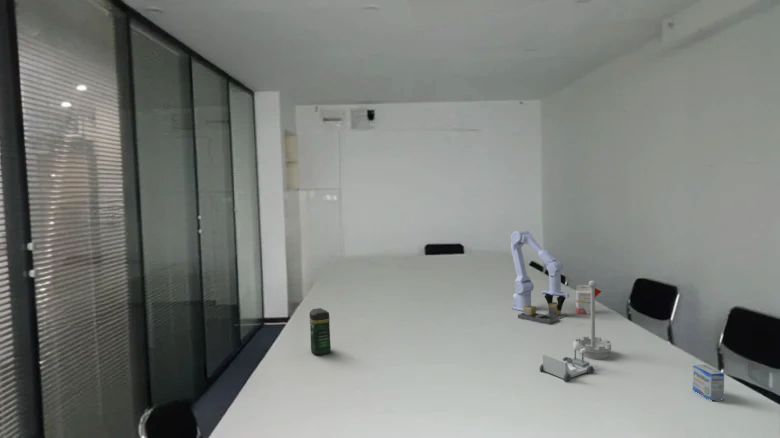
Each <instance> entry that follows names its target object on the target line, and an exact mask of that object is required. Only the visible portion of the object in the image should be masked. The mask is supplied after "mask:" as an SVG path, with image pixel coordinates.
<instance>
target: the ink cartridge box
mask: <svg viewBox="0 0 780 438" xmlns="http://www.w3.org/2000/svg"><path fill="white" fill-rule="evenodd" d="M575 288H576V289H575V312H576V313H577V314H578V315H591V287H590V286H589V284H577V285H576V286H575Z"/></svg>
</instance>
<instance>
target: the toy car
mask: <svg viewBox="0 0 780 438" xmlns="http://www.w3.org/2000/svg"><path fill="white" fill-rule="evenodd" d="M572 347H573V350H574V357H573V358H571V357H567V356H564V357H563V358H562V359H560V358H557V357H554V356H553V355H552V356H551V355H550V354H549V355H548V354H547V353H544V354H542V364H540V365H539V371H540V372H541V373H544V372H545V373H549V374H550V375H554V376H556V377H559V378H561V379H562V380H563V381H564V382H565V383H567V382H570V381H572V380H571V379H572V378H574V377H578V376H579V375H583V374H585V373H587V375H590V373H591V374H593V373H594V371H595V369H594V366H593V365H590V362H589V361H586V360H584V357H583V353H584V352H586V349H584V348H583V346H582V345H581V344H580V341H579V343H578V342H576V340H573V343H572ZM582 348H583V349H582ZM579 350H580V352H581V353H582V356H581V357H582V358H581V359H580V358H577V357H576V356H577V352H579ZM576 351H577V352H576ZM543 371H544V372H543Z"/></svg>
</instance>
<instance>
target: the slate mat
mask: <svg viewBox="0 0 780 438" xmlns="http://www.w3.org/2000/svg"><path fill="white" fill-rule="evenodd" d="M544 315H549V312H548V313H545V314H544ZM550 316H553V315H550ZM567 316H568V314H566V313H561V315H559V316H555V317H559V320H560V319H562V318H565V317H567Z"/></svg>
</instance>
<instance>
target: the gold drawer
mask: <svg viewBox="0 0 780 438" xmlns="http://www.w3.org/2000/svg"><path fill="white" fill-rule="evenodd" d="M523 313H524V315H526V316H531V317H533V316H535V315H536V313H537V306H535V305H532V304H531V305H527V306H524V311H523Z"/></svg>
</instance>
